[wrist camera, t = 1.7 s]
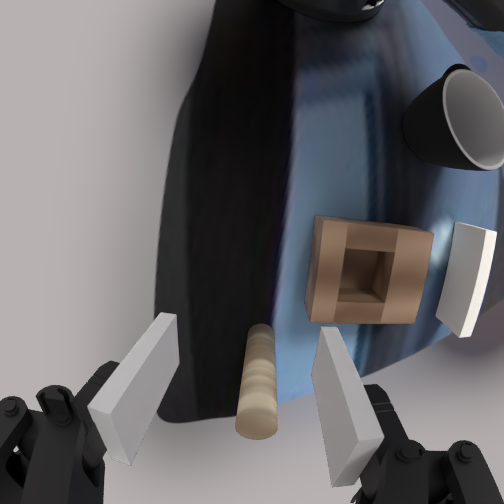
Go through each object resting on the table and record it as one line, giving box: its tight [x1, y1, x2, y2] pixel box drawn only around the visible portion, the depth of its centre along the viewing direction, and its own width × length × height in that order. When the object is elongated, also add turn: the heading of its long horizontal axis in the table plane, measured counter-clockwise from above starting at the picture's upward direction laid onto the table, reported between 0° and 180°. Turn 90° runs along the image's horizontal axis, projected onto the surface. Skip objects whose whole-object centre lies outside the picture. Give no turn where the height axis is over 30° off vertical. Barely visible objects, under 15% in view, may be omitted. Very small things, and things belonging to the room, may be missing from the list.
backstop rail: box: [435, 222, 497, 337], centre depth 25 cm, size 12×2×6 cm, turn 176°
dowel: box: [235, 324, 277, 440], centre depth 24 cm, size 3×3×14 cm
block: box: [305, 215, 434, 324], centre depth 26 cm, size 9×11×4 cm
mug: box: [403, 64, 504, 171], centre depth 19 cm, size 12×9×10 cm
